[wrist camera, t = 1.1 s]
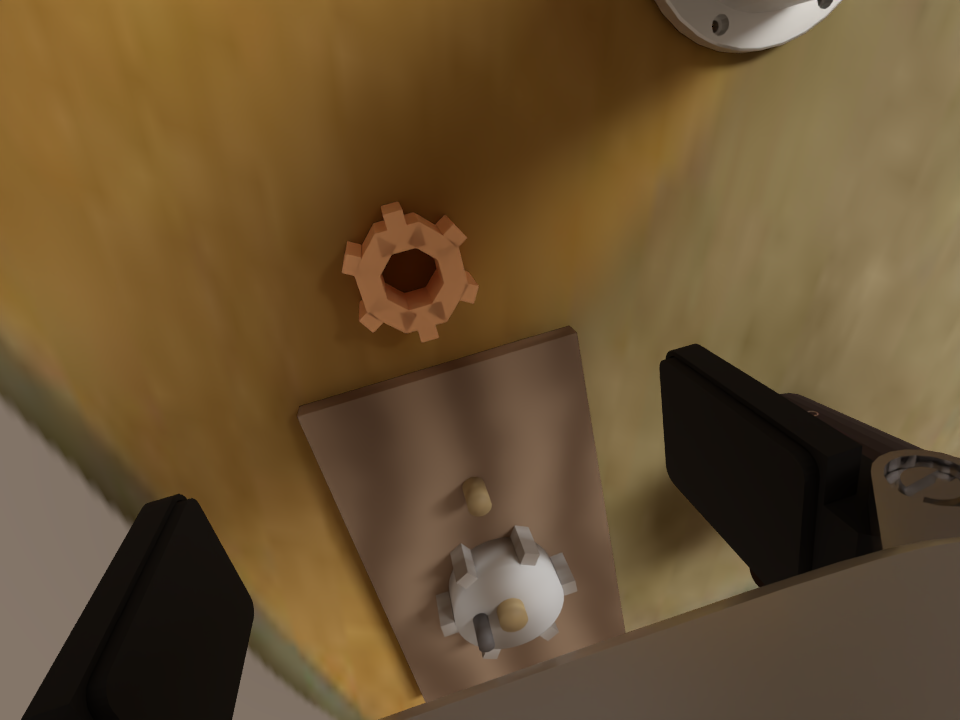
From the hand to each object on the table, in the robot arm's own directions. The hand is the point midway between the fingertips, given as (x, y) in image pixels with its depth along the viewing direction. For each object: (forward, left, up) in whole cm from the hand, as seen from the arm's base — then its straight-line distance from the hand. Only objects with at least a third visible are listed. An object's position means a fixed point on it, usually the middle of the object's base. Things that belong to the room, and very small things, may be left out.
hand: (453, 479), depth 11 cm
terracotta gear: (-1, 0, -19) cm, 19 cm away
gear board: (0, +19, -19) cm, 27 cm away
